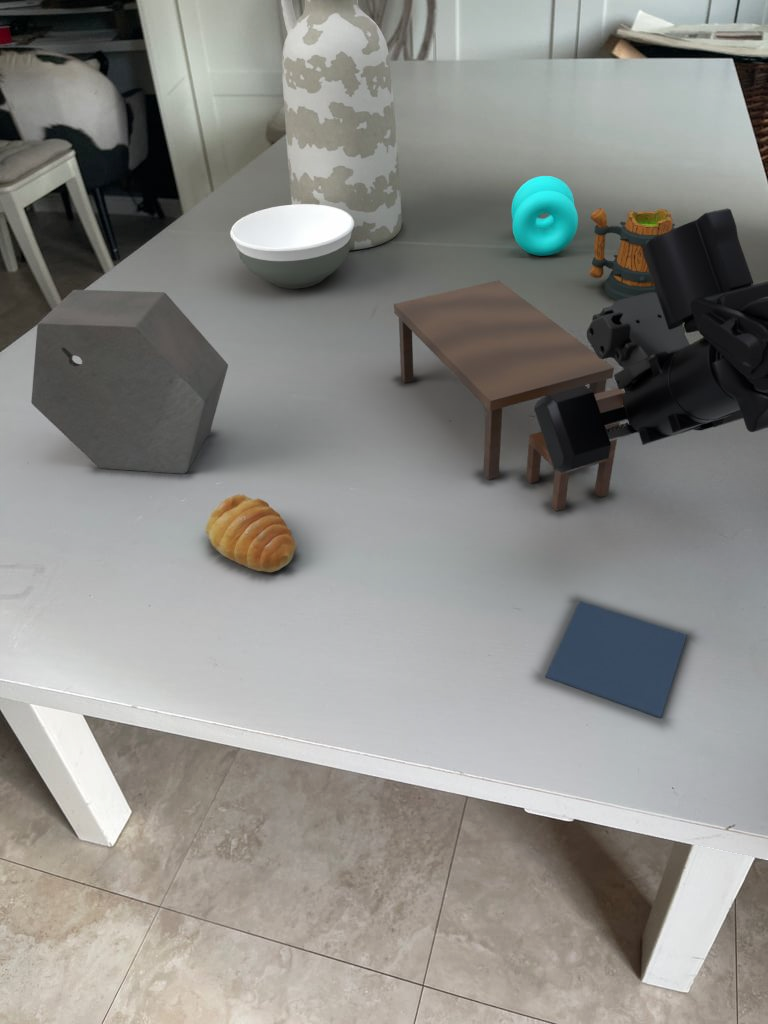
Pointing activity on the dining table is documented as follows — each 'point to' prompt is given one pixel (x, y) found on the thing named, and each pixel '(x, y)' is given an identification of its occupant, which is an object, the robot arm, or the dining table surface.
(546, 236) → the donuts
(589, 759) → the dining table surface
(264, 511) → the pastry
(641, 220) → the mug
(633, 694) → the mat
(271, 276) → the bowl
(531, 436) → the chair
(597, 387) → the side table
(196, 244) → the dining table surface
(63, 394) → the grey hexagonal prism
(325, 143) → the vase
